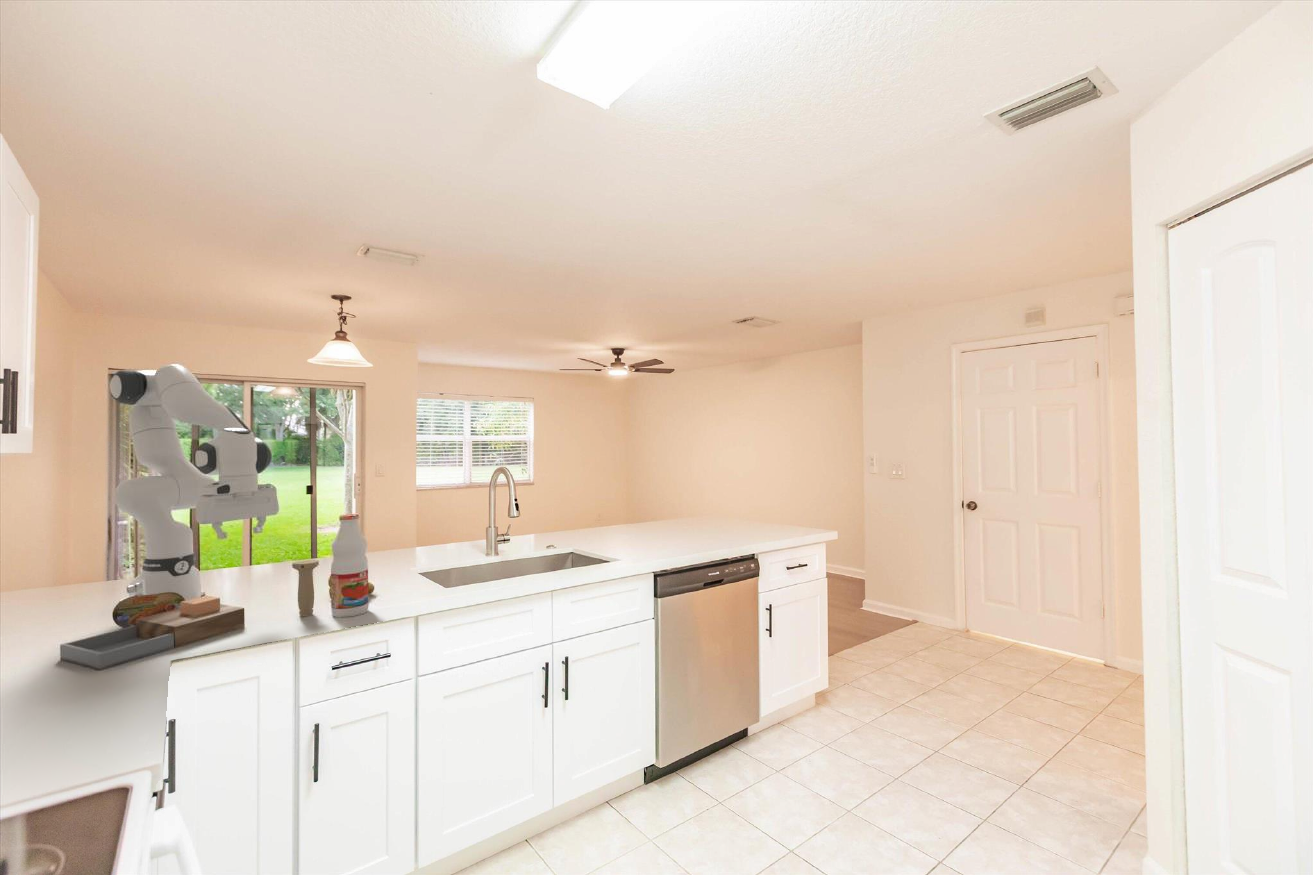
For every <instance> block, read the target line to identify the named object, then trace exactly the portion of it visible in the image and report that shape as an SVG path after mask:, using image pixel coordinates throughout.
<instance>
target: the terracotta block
mask: <svg viewBox="0 0 1313 875" xmlns="http://www.w3.org/2000/svg"><path fill="white" fill-rule="evenodd" d="M220 604H221V597H217V596H210V595H209V596H208V595H202V596H201V597H198V598H194V599H190V600H186V601H181V602H180V613H181V614H187V615H192V616H196V615H200V614H204V613H208V612H212V611H215V610H219V609H220Z"/></svg>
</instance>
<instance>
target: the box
mask: <svg viewBox="0 0 1313 875" xmlns="http://www.w3.org/2000/svg"><path fill="white" fill-rule="evenodd" d="M174 648H175V647H174V633H170V634H167V635H163V636H159V637H156V638H152V639H149V640H146V639H141V638H137V626H131V627H128V628H121V629H117V630H112V631H109V632H104V633H101V634H97V635H93V636H89V637H86V638H81V639H77V640H73V641H70V642H67V643H66V642H65V643H61V644H59V653H60V654H59V655H60V656H59V657H60V659H59V660H60V661H62V662H67V663H71V664H74V665H77V666H82V667H84V668H85V667H86V668H89V669H92V670H97V671H103V670H106V669H109V668H112V667H115V666H119V665H122V664H125V663H128V662H132V661H135V660H139V659H142V658H145V657H148V656H151V655H156V654H159V653H162V652H166V651H168V650H172V649H174Z"/></svg>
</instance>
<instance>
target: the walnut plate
mask: <svg viewBox="0 0 1313 875" xmlns="http://www.w3.org/2000/svg"><path fill="white" fill-rule="evenodd" d="M136 626H137V638H141V639H146V640H149V639H152V638H156V637H159V636H163V635H167V634H170V633H174V648H179V647H183V646H185V645H186V646H187V645H188V644H191V643H196V642H199V641H202V640H205V639H209V638H212V637H216V636H218V635H222V634H225V633H228V632H231V631H234V629H236V630H238V628H239V629H242V628H244V627H243V626H245V607H242V606H241V607H240V606H235V605H229V604H221V603H220V609H219V610H215V611H212V612H208V613H204V614H200V615H196V616H192V615H187V614H181V613H180V609H176V610H172V611H168V612H164V613H160V614H156V615H152V616H147V617H143V618H139V619H136ZM241 627H242V628H241Z"/></svg>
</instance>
